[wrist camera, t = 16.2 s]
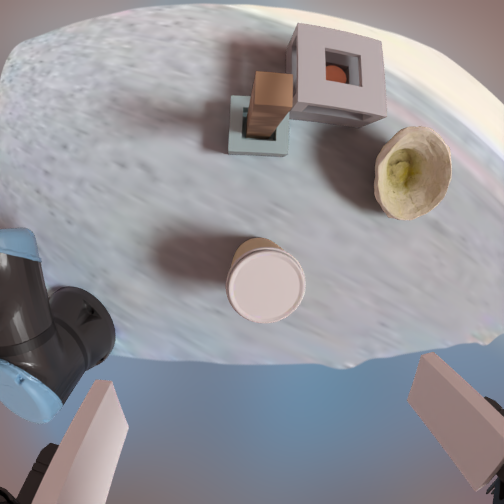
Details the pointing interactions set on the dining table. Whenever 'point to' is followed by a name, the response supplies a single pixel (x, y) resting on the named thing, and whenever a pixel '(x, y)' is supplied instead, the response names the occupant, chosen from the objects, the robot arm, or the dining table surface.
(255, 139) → the holder
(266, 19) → the dining table surface
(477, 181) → the dining table surface
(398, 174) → the bowl
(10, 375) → the robot arm
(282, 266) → the coffee cup
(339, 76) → the button
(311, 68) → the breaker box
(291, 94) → the brown wooden bar
